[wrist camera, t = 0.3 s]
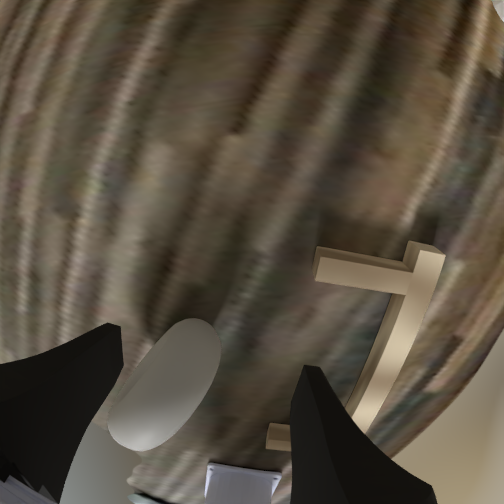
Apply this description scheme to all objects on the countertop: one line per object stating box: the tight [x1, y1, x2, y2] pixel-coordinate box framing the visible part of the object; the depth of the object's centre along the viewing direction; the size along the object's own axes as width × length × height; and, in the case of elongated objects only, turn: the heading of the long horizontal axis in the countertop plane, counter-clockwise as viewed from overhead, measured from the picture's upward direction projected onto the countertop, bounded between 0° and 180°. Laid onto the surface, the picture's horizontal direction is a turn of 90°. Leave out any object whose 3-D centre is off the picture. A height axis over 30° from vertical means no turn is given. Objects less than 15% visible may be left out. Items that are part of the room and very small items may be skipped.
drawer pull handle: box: [266, 240, 446, 451], centre depth 21 cm, size 21×8×2 cm, turn 172°
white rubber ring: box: [107, 318, 222, 451], centre depth 18 cm, size 10×4×10 cm, turn 139°
